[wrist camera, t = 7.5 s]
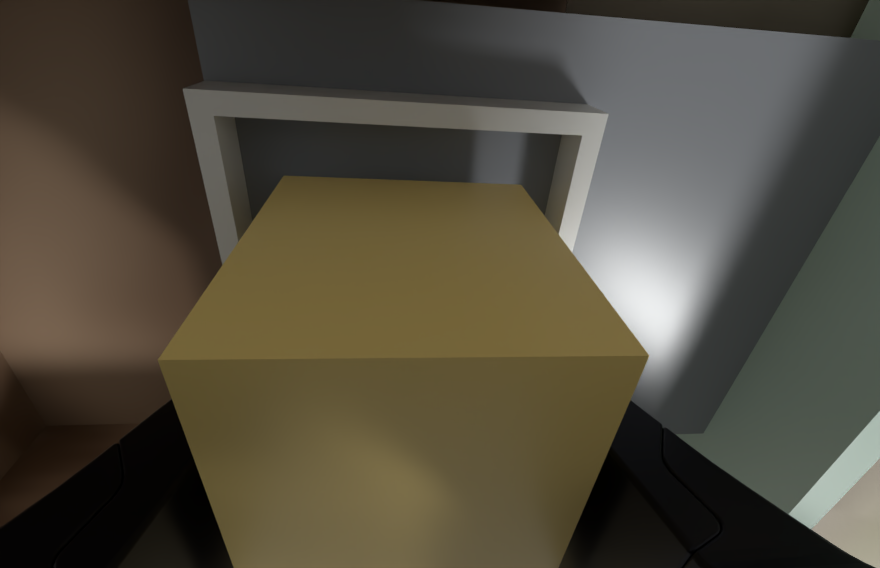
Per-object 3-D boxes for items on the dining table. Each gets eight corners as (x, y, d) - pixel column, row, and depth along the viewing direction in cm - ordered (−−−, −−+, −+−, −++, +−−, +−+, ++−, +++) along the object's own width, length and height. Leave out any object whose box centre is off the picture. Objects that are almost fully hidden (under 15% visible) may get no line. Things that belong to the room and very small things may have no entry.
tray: (934, -33, 10) (1388, -71, 5) (687, 418, 17) (786, 554, 13) (206, -114, 8) (-34, -277, 3) (294, 428, 16) (255, 591, 11)
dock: (564, -70, 9) (717, -145, 5) (480, 415, 17) (509, 550, 13) (-328, -169, 7) (-1359, -430, 3) (42, 426, 15) (-95, 588, 11)
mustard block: (521, 184, 8) (649, 355, 4) (483, 400, 12) (535, 621, 7) (284, 175, 8) (158, 359, 4) (312, 403, 11) (261, 644, 7)
